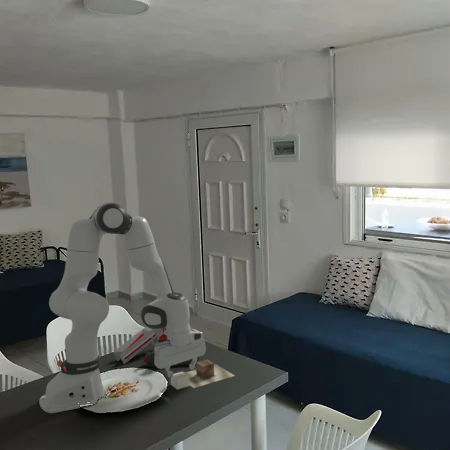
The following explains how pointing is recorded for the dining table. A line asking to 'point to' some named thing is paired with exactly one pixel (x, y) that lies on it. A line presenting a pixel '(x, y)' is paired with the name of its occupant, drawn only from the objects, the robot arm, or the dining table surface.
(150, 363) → the laser sight
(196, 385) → the beige rectangular board
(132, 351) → the toy gun
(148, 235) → the robot arm
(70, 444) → the dining table surface
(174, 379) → the cream block
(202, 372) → the walnut block
